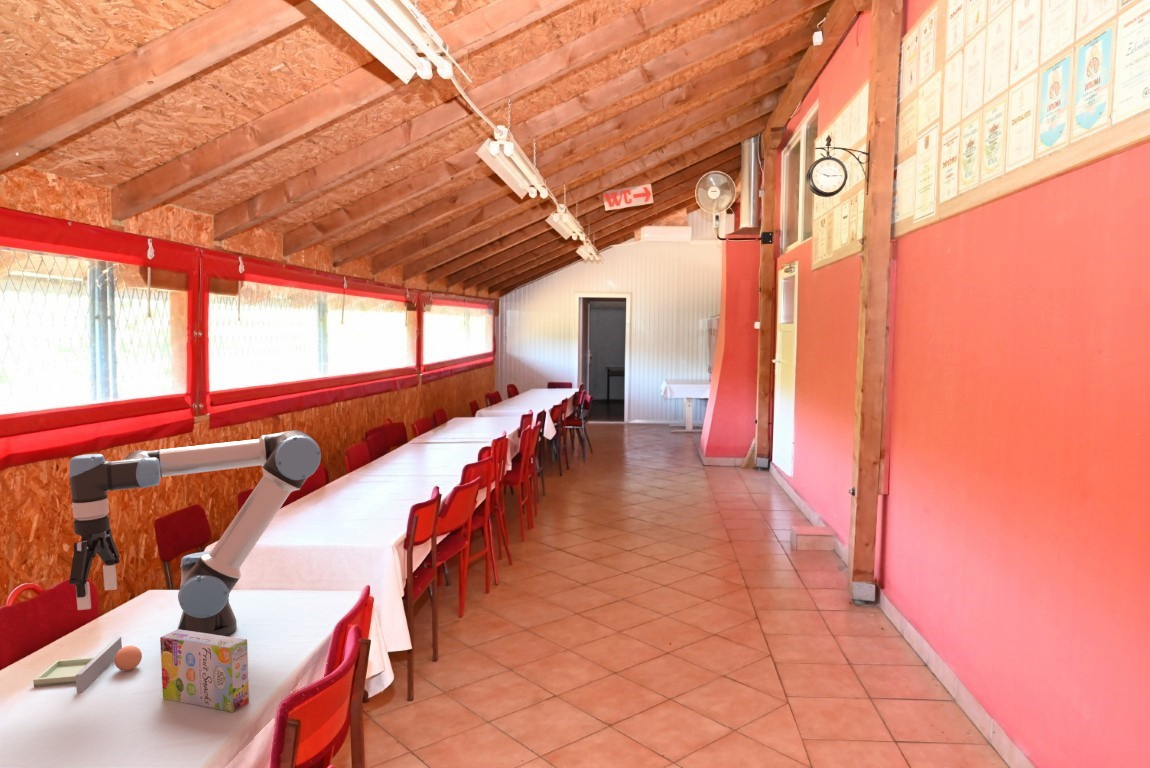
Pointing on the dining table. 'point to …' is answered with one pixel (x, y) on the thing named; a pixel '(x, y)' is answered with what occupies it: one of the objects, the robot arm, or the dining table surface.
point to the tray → (61, 672)
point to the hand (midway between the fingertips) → (98, 599)
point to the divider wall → (97, 665)
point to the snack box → (205, 669)
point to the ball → (128, 658)
